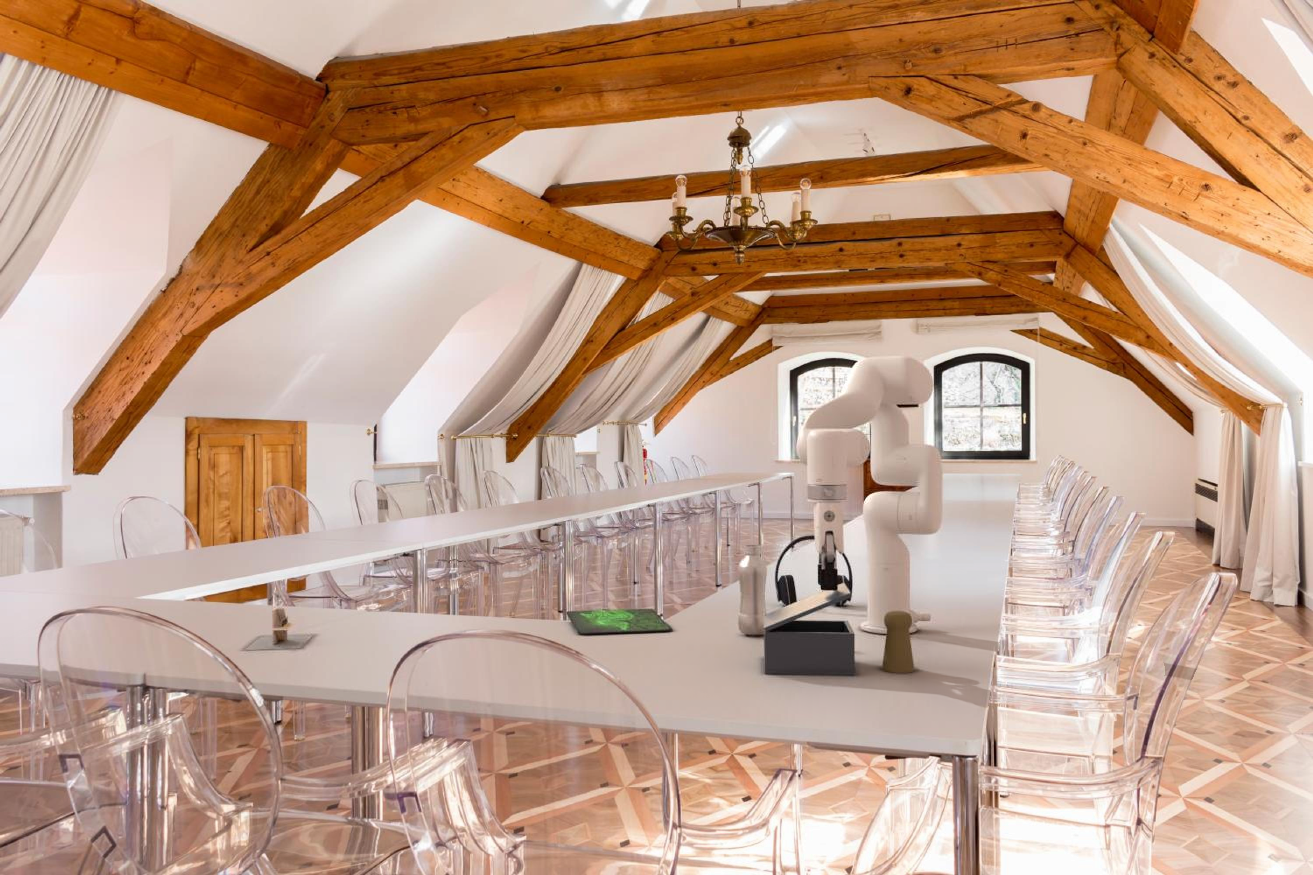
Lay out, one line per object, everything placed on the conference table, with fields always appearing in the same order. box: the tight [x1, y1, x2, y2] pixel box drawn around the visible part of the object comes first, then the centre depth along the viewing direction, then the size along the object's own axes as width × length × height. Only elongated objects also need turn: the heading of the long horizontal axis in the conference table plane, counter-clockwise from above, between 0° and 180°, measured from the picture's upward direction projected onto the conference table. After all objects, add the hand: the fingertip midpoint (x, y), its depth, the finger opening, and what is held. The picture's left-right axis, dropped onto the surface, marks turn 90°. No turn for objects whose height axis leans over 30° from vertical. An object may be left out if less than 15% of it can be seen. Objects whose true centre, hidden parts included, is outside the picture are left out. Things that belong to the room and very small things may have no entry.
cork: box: [881, 611, 915, 674], centre depth 199 cm, size 6×6×11 cm
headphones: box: [774, 534, 854, 607], centre depth 273 cm, size 20×7×18 cm, turn 89°
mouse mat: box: [566, 608, 673, 635], centre depth 249 cm, size 27×22×1 cm
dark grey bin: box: [763, 619, 856, 676], centre depth 201 cm, size 17×14×8 cm
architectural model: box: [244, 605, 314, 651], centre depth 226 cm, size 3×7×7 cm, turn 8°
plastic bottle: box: [737, 544, 768, 636], centre depth 234 cm, size 6×7×20 cm
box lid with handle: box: [763, 583, 853, 632], centre depth 202 cm, size 17×14×6 cm
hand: (827, 586), depth 201 cm, fingers closed on box lid with handle, 6 cm apart
